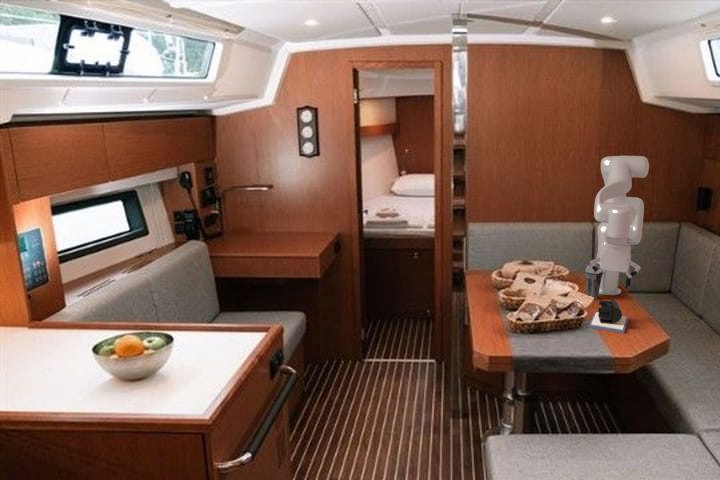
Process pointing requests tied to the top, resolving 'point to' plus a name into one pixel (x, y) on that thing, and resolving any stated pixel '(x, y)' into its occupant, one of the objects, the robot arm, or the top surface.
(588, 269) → the beverage cup
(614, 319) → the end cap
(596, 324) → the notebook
